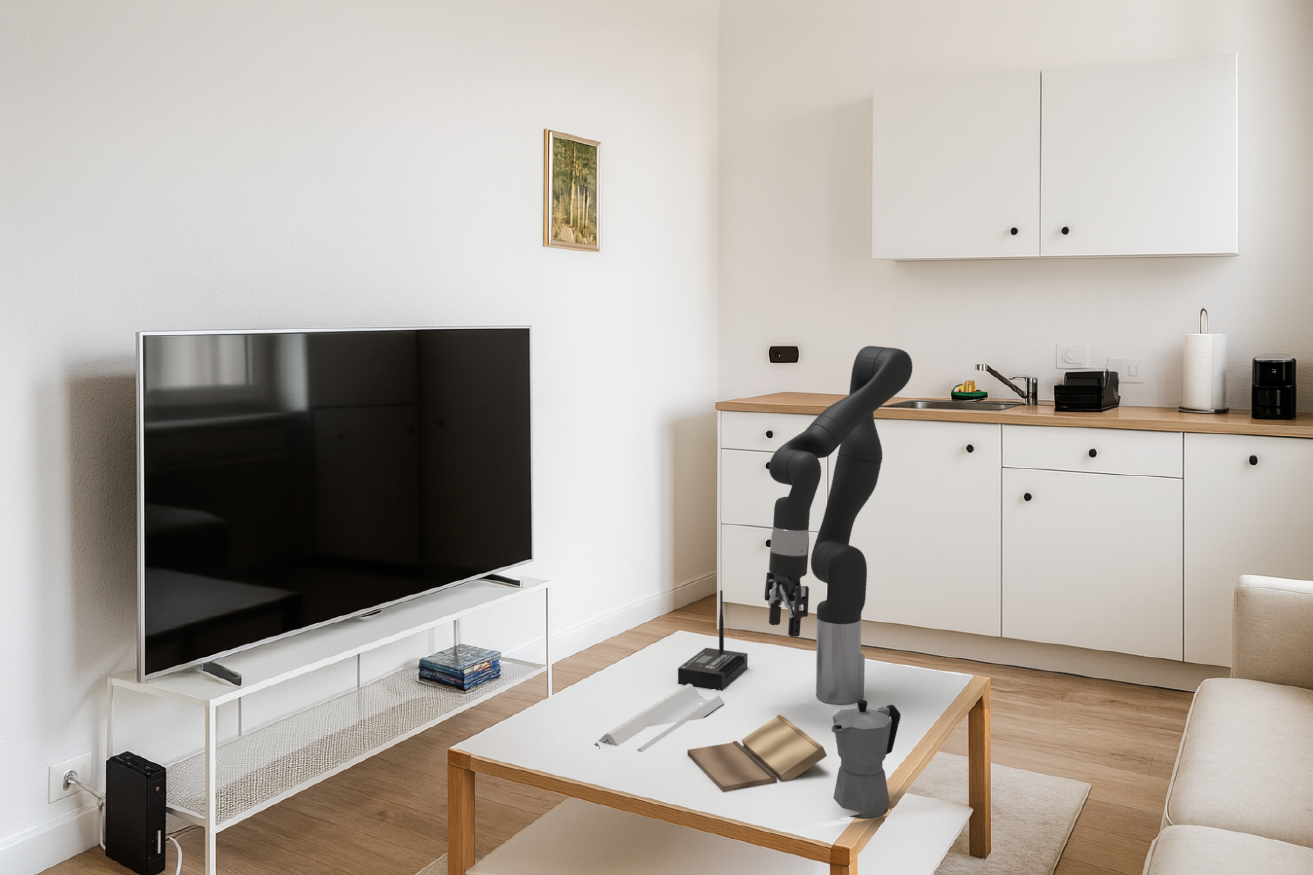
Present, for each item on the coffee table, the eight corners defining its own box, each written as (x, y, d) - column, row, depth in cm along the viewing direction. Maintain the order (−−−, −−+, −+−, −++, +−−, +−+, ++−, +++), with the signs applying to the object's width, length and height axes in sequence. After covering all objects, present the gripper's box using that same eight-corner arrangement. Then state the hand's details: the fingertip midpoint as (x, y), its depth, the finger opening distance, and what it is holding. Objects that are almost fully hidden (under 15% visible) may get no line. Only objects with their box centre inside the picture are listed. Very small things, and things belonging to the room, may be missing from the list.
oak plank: (745, 748, 189) (740, 739, 188) (784, 722, 191) (780, 713, 191) (785, 784, 174) (780, 774, 173) (827, 755, 176) (822, 745, 176)
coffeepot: (854, 829, 159) (855, 718, 157) (811, 806, 167) (812, 700, 165) (919, 802, 168) (921, 696, 166) (876, 781, 175) (878, 681, 174)
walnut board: (737, 751, 188) (737, 740, 188) (776, 788, 173) (776, 775, 173) (687, 760, 185) (687, 748, 185) (723, 797, 170) (723, 785, 170)
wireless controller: (729, 693, 220) (729, 615, 218) (670, 683, 226) (670, 608, 224) (760, 665, 238) (760, 593, 236) (705, 657, 244) (705, 587, 242)
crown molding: (645, 761, 186) (644, 742, 186) (591, 748, 192) (590, 730, 192) (723, 706, 213) (723, 690, 212) (674, 697, 219) (674, 680, 219)
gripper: (823, 557, 196) (817, 639, 197) (789, 543, 209) (784, 620, 210) (788, 557, 193) (783, 641, 195) (756, 543, 207) (751, 621, 208)
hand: (783, 630), depth 203 cm, fingers open, 8 cm apart
